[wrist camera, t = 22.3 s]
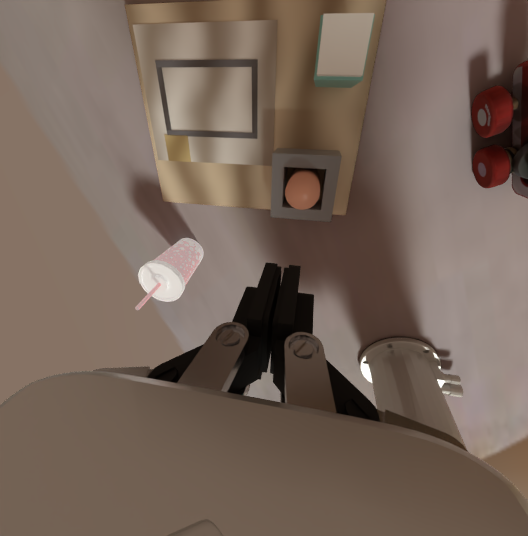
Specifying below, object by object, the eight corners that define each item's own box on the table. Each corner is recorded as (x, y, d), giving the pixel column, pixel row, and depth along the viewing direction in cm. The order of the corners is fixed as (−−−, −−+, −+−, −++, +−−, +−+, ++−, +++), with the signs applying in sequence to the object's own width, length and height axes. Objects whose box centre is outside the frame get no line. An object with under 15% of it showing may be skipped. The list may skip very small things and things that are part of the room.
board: (386, -5, 23) (388, -9, 22) (344, 213, 33) (345, 215, 33) (128, 6, 26) (123, 4, 26) (165, 200, 37) (162, 201, 36)
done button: (321, 166, 30) (322, 176, 26) (318, 197, 32) (317, 210, 28) (290, 164, 30) (286, 174, 26) (288, 195, 32) (284, 208, 28)
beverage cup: (174, 227, 39) (111, 278, 27) (211, 242, 39) (165, 299, 28) (169, 259, 42) (112, 316, 31) (204, 272, 43) (160, 335, 31)
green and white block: (357, 44, 24) (378, 8, 15) (349, 88, 26) (365, 78, 17) (320, 44, 25) (320, 9, 16) (315, 87, 26) (313, 77, 18)
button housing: (339, 150, 29) (341, 156, 26) (329, 210, 33) (330, 222, 29) (277, 147, 30) (272, 153, 27) (275, 206, 34) (270, 217, 30)
